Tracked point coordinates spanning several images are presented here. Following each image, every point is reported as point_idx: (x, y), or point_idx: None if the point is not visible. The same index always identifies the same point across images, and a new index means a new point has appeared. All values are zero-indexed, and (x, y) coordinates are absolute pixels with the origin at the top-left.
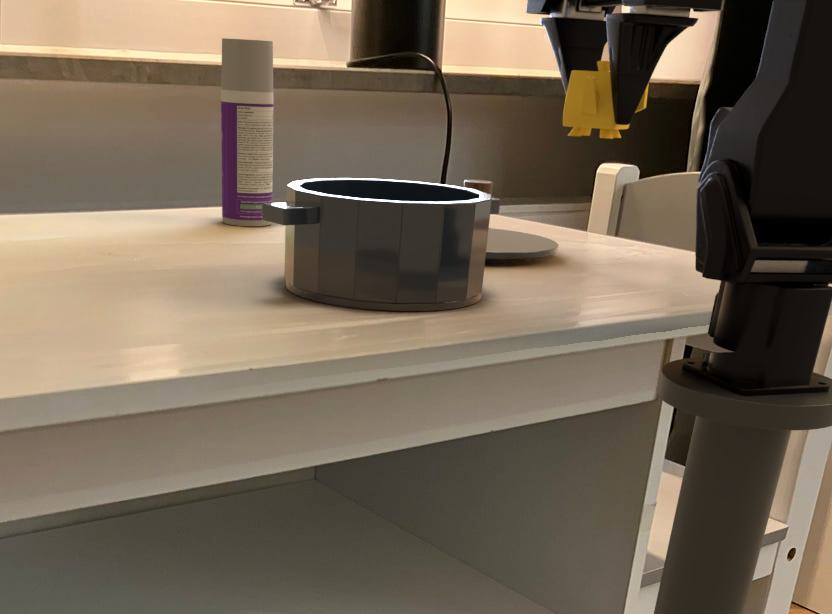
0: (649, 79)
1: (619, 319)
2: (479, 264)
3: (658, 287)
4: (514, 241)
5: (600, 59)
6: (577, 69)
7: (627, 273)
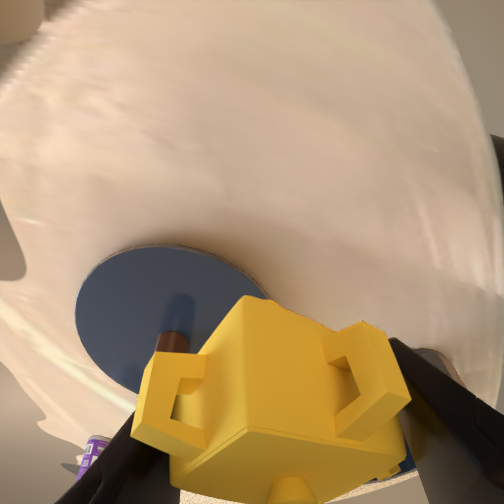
0: (471, 393)
1: (499, 263)
2: (451, 371)
3: (393, 163)
4: (180, 304)
5: (117, 497)
6: (164, 497)
7: (297, 167)
